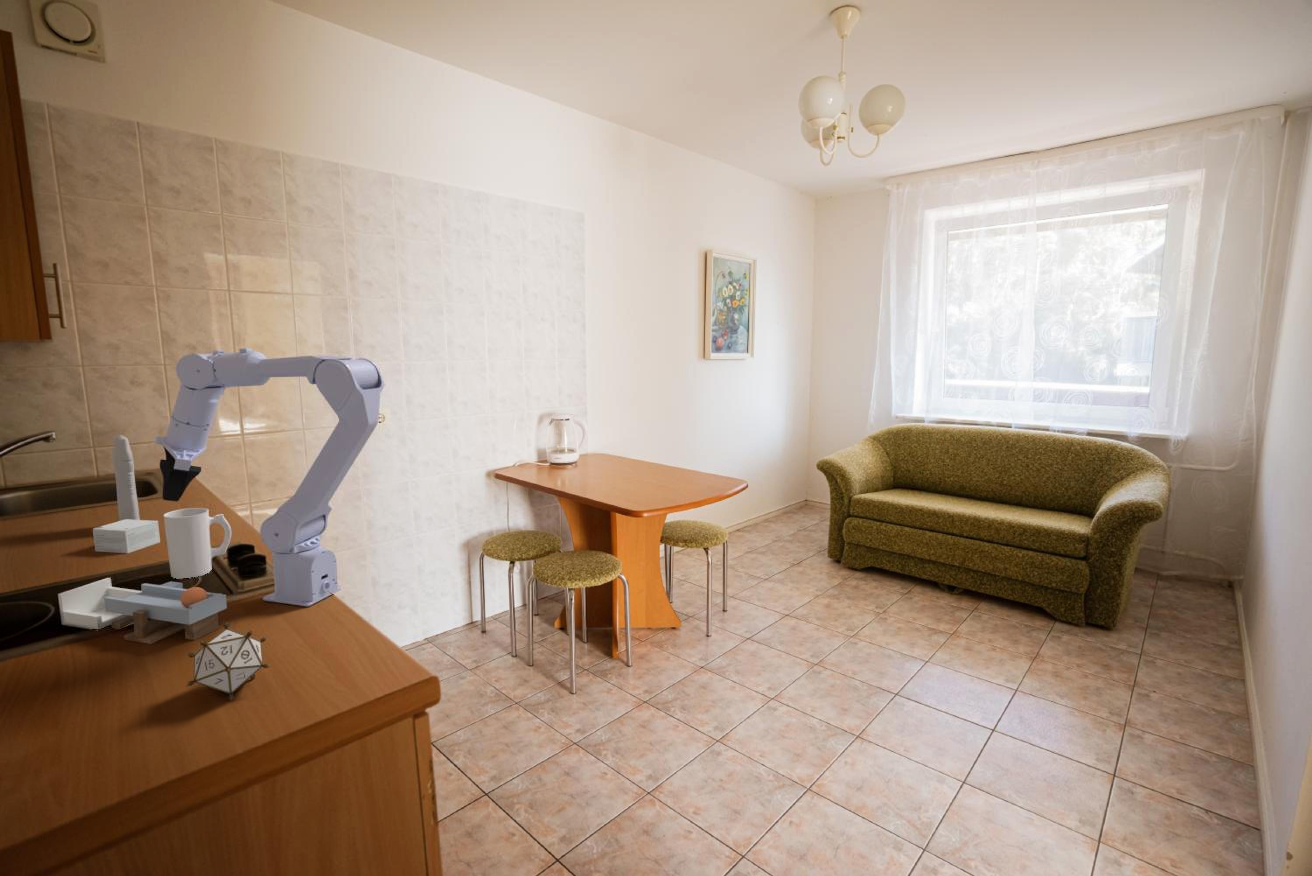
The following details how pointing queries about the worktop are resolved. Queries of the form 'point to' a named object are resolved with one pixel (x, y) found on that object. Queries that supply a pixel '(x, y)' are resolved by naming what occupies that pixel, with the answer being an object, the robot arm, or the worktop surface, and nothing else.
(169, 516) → the mug
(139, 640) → the fulcrum
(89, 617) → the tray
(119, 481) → the tall pale column
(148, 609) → the lever
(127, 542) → the small box
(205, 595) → the ball
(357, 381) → the robot arm
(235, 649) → the game die
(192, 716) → the worktop surface
